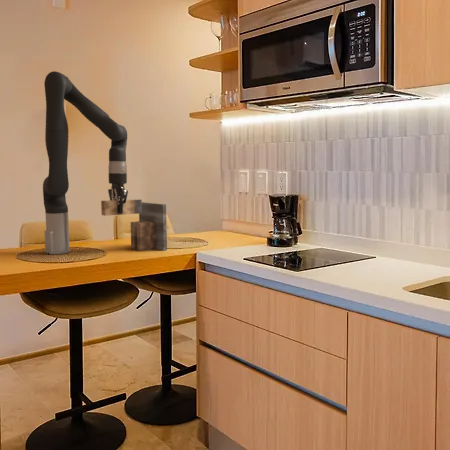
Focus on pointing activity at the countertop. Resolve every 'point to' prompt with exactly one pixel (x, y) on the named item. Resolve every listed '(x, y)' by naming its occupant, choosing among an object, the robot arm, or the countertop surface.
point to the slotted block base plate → (150, 228)
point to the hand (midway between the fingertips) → (118, 213)
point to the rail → (128, 207)
